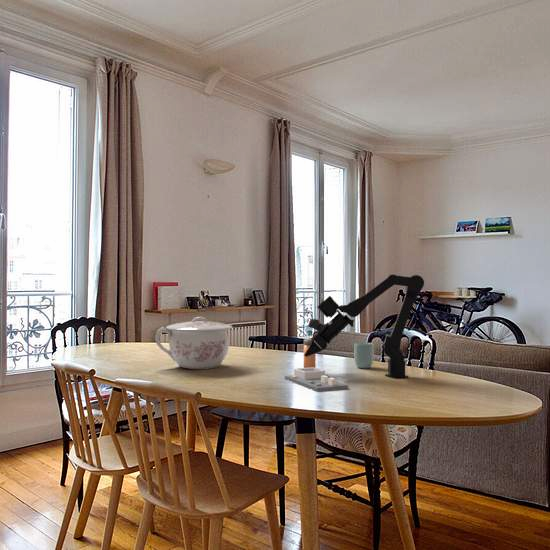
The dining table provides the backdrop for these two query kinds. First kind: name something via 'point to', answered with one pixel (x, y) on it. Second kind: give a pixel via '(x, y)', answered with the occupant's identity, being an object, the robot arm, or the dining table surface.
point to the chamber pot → (196, 343)
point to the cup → (363, 354)
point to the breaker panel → (315, 379)
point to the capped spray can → (309, 360)
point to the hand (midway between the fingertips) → (306, 354)
